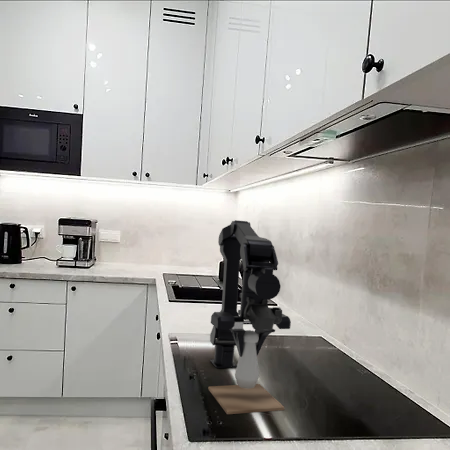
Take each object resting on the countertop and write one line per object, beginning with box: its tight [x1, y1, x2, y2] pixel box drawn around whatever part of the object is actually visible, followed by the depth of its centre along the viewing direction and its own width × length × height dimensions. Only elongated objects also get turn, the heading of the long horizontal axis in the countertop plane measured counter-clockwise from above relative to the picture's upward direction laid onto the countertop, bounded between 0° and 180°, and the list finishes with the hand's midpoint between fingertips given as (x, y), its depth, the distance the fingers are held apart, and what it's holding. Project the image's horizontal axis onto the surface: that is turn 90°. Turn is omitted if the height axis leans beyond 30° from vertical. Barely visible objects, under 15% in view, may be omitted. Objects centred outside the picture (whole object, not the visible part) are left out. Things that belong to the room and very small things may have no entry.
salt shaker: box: [234, 329, 260, 389], centre depth 100 cm, size 6×6×13 cm
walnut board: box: [207, 383, 285, 415], centre depth 100 cm, size 14×14×1 cm
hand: (248, 356), depth 100 cm, fingers closed on salt shaker, 3 cm apart
